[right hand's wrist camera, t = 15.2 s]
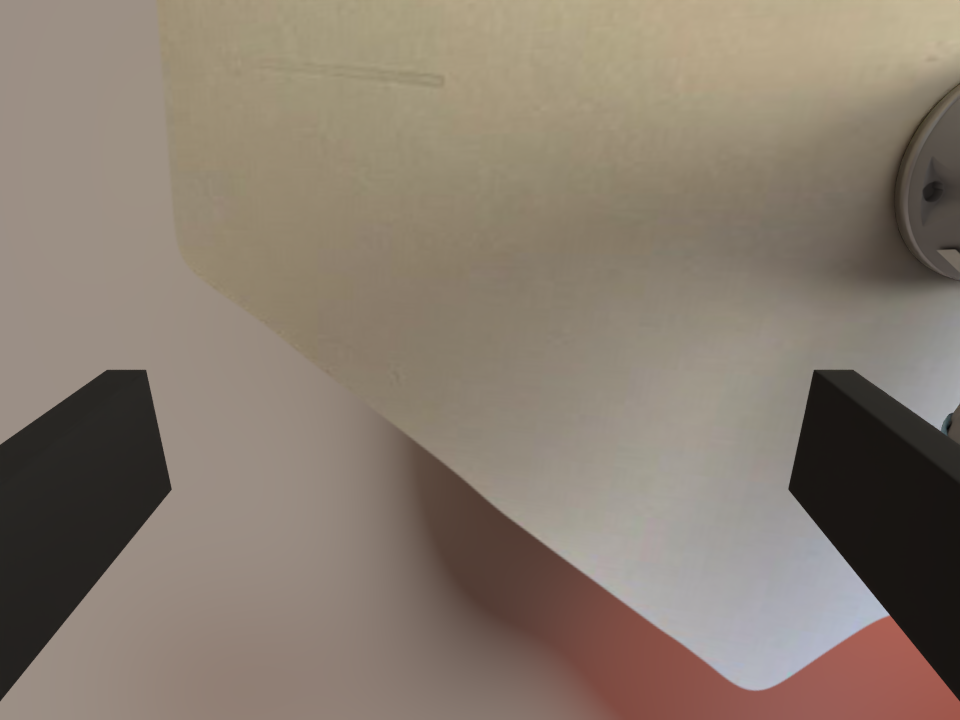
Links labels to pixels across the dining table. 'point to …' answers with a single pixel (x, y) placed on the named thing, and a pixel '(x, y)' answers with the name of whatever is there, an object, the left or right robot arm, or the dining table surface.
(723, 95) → the dining table surface
